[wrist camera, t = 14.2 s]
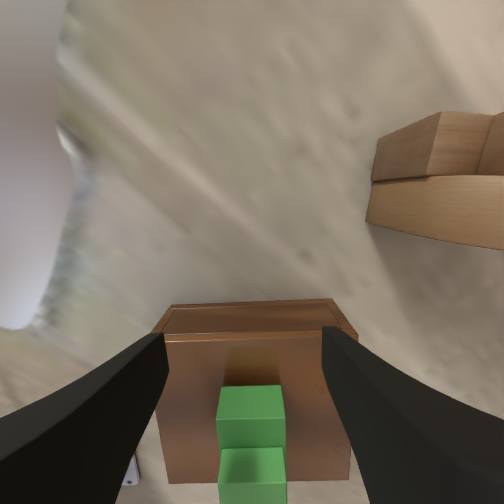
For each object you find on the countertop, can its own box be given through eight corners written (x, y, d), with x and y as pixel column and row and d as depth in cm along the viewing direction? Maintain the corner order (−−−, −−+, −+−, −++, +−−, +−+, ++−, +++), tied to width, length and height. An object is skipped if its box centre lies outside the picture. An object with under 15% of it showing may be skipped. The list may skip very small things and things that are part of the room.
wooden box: (328, 412, 24) (345, 463, 20) (186, 415, 25) (170, 467, 20) (332, 298, 21) (353, 327, 17) (170, 304, 22) (147, 335, 17)
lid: (345, 469, 20) (349, 480, 19) (171, 473, 20) (168, 484, 19) (354, 328, 17) (358, 335, 16) (147, 335, 17) (142, 342, 16)
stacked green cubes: (282, 448, 18) (292, 543, 13) (229, 450, 18) (220, 544, 14) (280, 374, 17) (291, 451, 12) (222, 376, 17) (208, 453, 12)
